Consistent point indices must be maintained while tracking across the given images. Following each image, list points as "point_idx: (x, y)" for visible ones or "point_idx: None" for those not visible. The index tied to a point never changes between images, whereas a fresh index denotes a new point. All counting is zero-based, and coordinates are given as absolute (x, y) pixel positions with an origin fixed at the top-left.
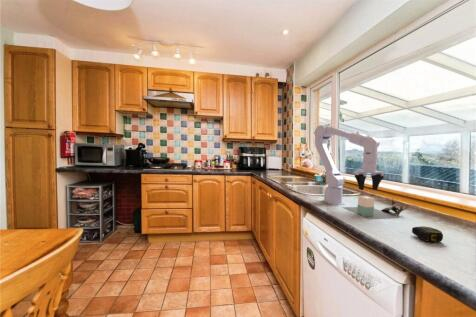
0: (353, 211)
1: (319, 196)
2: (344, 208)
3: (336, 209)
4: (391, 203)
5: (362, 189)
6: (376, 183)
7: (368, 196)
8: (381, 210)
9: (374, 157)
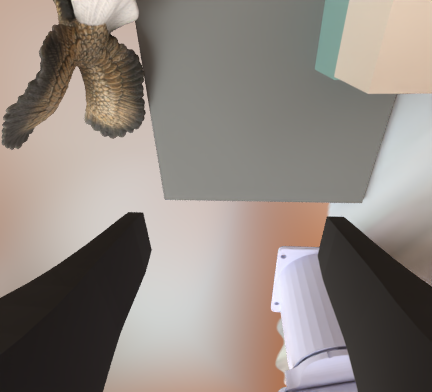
0: (377, 110)
1: (283, 361)
2: (368, 181)
3: (428, 178)
4: (62, 85)
5: (345, 219)
6: (102, 279)
7: (378, 62)
8: (143, 118)
9: None
